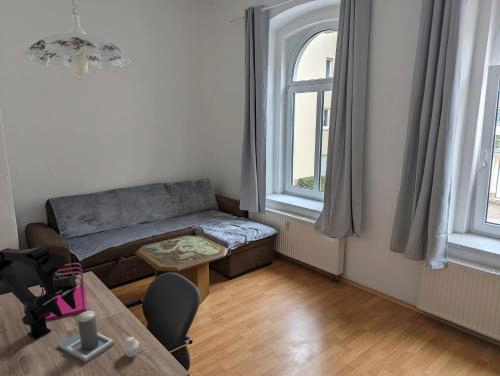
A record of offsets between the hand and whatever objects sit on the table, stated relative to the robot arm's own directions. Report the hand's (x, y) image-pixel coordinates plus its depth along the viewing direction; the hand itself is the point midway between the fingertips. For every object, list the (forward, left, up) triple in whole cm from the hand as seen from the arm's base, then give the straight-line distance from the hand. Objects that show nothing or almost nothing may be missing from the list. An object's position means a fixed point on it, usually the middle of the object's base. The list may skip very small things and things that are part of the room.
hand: (68, 312), depth 136 cm
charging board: (+6, +2, -13) cm, 15 cm away
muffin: (+26, +7, -14) cm, 30 cm away
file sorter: (-31, +17, -14) cm, 38 cm away
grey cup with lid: (+9, +2, -12) cm, 15 cm away
